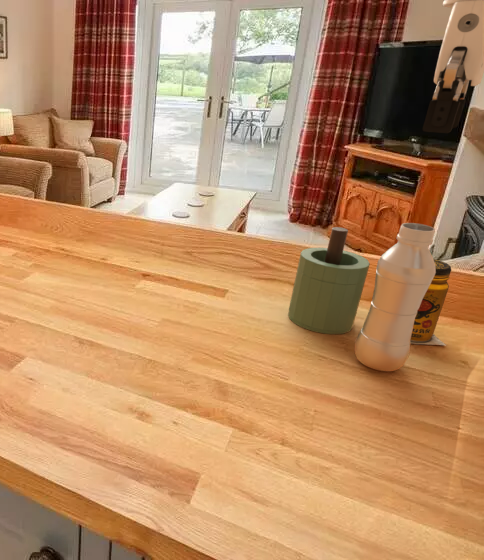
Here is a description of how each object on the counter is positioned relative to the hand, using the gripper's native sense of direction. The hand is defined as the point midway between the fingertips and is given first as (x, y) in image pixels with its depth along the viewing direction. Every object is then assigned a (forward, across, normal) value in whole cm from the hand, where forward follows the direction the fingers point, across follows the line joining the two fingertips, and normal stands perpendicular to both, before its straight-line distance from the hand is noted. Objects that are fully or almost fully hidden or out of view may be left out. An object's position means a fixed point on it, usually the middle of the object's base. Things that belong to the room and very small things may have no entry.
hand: (439, 129), depth 70 cm
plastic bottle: (+31, -17, -2) cm, 35 cm away
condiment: (+31, -3, -4) cm, 31 cm away
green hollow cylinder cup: (+30, -8, +8) cm, 32 cm away
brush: (+30, -8, +8) cm, 32 cm away
